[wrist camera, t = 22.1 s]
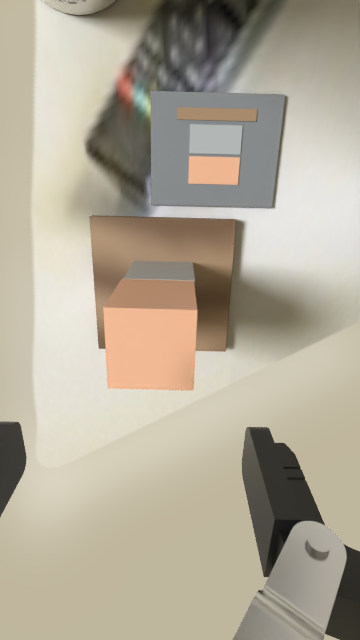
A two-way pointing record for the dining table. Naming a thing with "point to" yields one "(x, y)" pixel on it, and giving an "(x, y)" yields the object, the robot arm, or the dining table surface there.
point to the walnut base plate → (172, 246)
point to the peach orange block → (151, 334)
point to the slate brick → (161, 270)
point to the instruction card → (214, 148)
